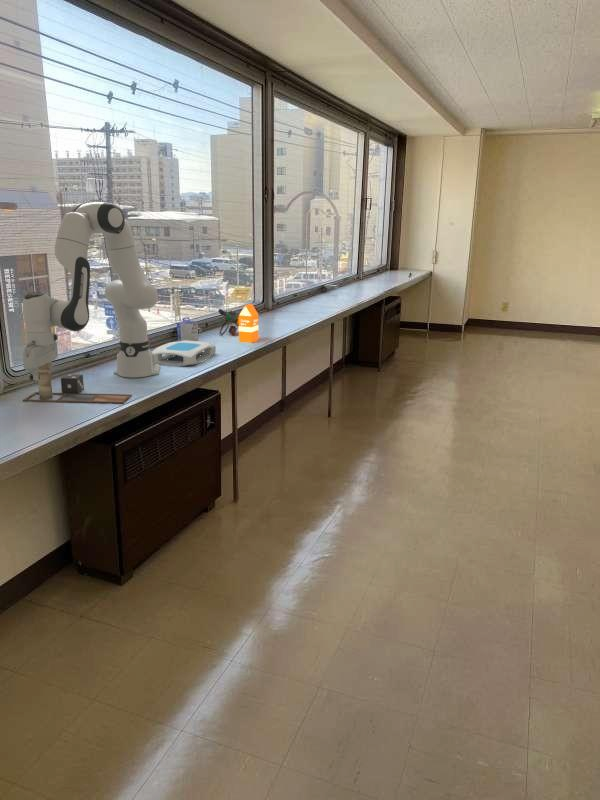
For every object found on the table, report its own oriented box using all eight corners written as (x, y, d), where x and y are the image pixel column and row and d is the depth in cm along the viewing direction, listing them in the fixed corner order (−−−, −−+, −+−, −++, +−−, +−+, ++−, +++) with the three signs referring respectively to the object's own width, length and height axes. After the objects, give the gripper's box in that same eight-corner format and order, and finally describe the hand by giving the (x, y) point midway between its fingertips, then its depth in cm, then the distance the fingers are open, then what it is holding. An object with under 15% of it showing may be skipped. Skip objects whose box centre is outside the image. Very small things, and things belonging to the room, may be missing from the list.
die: (68, 389, 228) (67, 373, 226) (84, 389, 228) (82, 374, 226) (62, 393, 222) (60, 378, 221) (78, 394, 222) (76, 378, 221)
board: (35, 393, 222) (35, 392, 221) (131, 395, 221) (131, 394, 221) (22, 401, 212) (22, 400, 212) (123, 403, 212) (123, 402, 211)
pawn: (42, 395, 219) (38, 359, 215) (55, 396, 219) (51, 360, 215) (36, 399, 215) (32, 362, 211) (49, 399, 214) (46, 363, 210)
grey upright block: (194, 343, 314) (193, 316, 310) (199, 345, 310) (198, 317, 305) (177, 345, 308) (176, 317, 304) (181, 347, 304) (180, 319, 300)
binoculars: (232, 342, 334) (245, 320, 332) (210, 330, 329) (223, 307, 327) (228, 338, 347) (241, 316, 345) (208, 326, 342) (221, 303, 340)
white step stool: (149, 364, 270) (148, 350, 268) (177, 351, 296) (176, 339, 294) (191, 367, 265) (191, 354, 263) (216, 354, 291) (216, 342, 289)
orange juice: (238, 342, 320) (238, 304, 314) (245, 339, 328) (245, 302, 322) (251, 343, 318) (251, 305, 312) (258, 340, 326) (258, 303, 320)
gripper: (34, 344, 200) (38, 384, 204) (59, 334, 220) (62, 370, 224) (16, 344, 200) (20, 383, 204) (42, 333, 220) (46, 370, 224)
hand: (42, 376), depth 214 cm, fingers open, 8 cm apart
